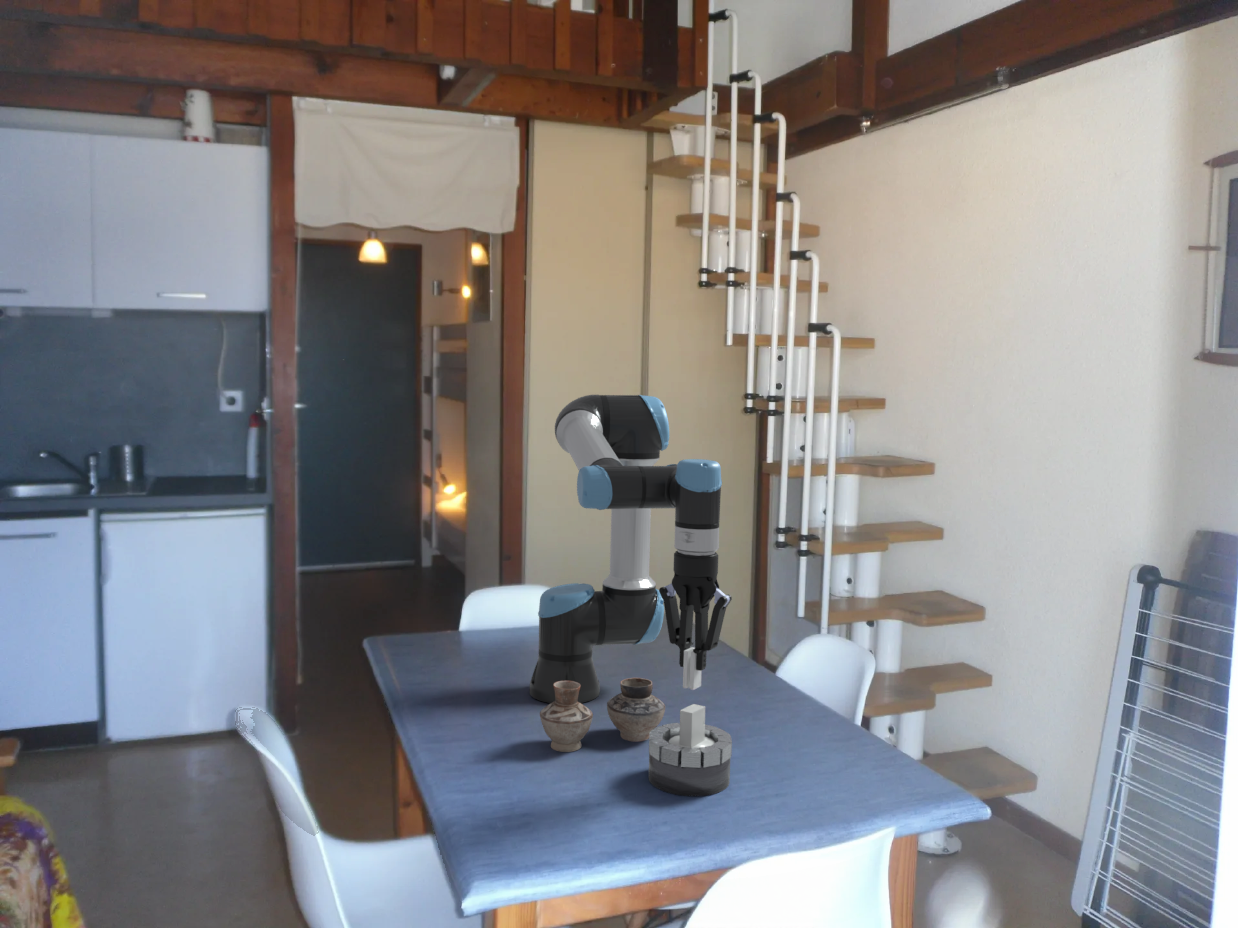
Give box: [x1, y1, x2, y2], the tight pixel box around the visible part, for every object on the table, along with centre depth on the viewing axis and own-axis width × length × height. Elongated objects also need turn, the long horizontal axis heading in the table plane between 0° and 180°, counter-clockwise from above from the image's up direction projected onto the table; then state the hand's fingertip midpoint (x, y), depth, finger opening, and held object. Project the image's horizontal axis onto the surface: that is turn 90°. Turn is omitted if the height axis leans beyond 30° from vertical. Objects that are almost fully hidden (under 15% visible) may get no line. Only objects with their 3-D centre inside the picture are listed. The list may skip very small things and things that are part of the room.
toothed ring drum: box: [648, 722, 733, 797], centre depth 173 cm, size 14×14×8 cm
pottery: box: [539, 677, 666, 753], centre depth 189 cm, size 11×25×12 cm, turn 116°
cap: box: [669, 703, 715, 748], centre depth 172 cm, size 8×8×8 cm
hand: (691, 686), depth 172 cm, fingers closed
